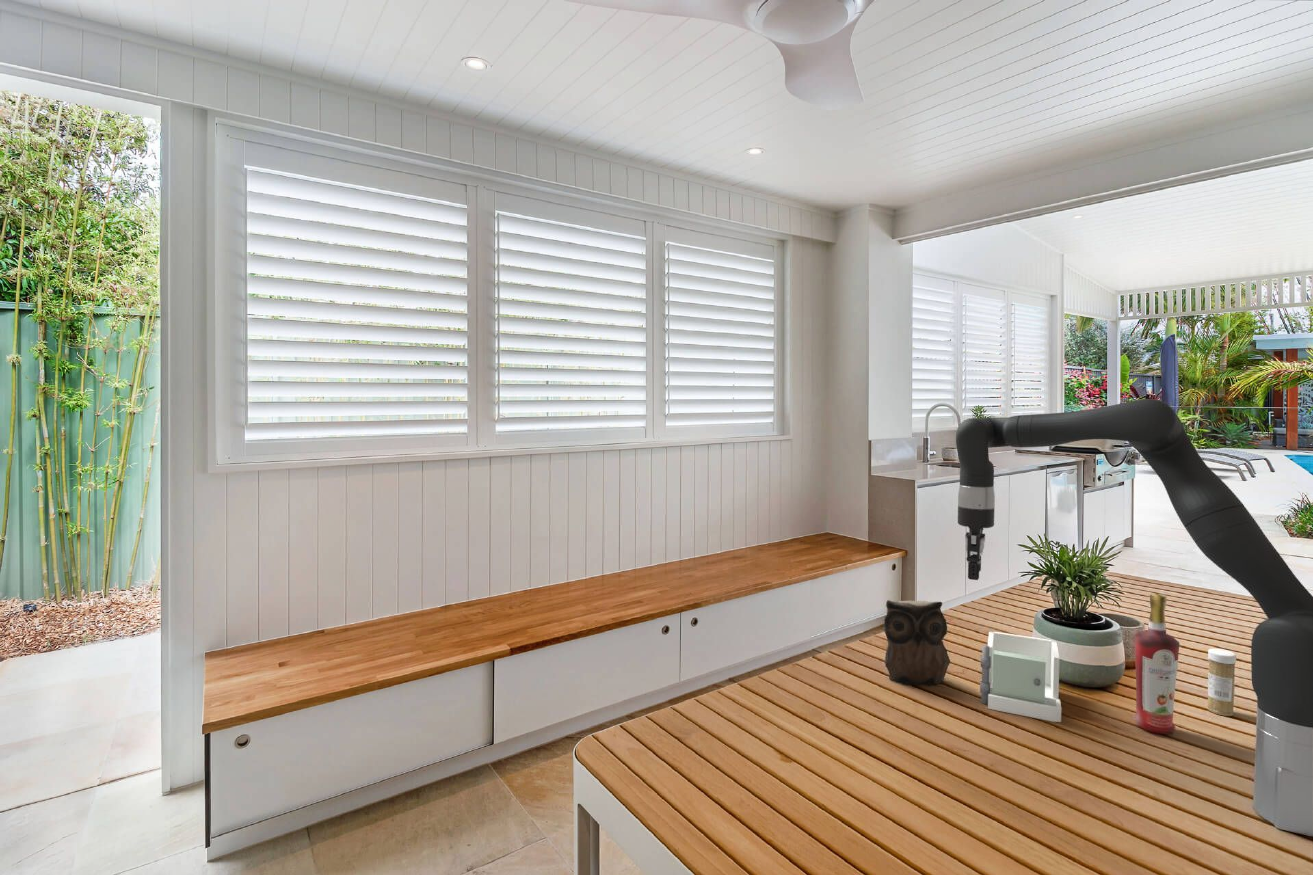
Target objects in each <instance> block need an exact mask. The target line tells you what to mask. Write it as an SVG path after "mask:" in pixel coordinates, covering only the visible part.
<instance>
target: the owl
mask: <svg viewBox="0 0 1313 875" xmlns="http://www.w3.org/2000/svg"><path fill="white" fill-rule="evenodd" d="M885 603H886V604H885V607H886V614H885V616H884V619H883V621H884V622H883V626H884V628H883V632H884V634H885V637H886V640H887V647H886V651H885V656H884V657H885V658H884V664H885V667H886V669H887V671H888V677H889V678H888V679H889V680H890V681H891V682H893V683H898V684H901V685H905V686H911V685H915V686H916V687H919V686H927V687H933V686H936V685H938V684H942V683H945V676H946V674H947V670H948V668H949V665H950V663H951V659H950V657H949V653H948V649H947V648H946V646H945V644H944V641H943V639H944V638H945V636H946V635H947V634H948V624H947V620H946V618H945V615H944V614H943V612H942V609H941V608H942V606H943V602H942V601H928V600H927V601H926V600H910V599H909V600H898V601H897V600H896V601H895V600H894V601H893V600H890V599H888V600H887V601H886V602H885Z"/></svg>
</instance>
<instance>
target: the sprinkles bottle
mask: <svg viewBox="0 0 1313 875" xmlns="http://www.w3.org/2000/svg"><path fill="white" fill-rule="evenodd" d="M1207 654H1208V656H1207V658H1208V673H1207V674H1208V675H1207V676H1208V677H1207V705H1206V709H1207V710H1208V711H1209V712H1211V713H1213V714H1215V715H1218V716H1223V717H1224V716H1225V717H1232V716H1234V714H1235V712H1234V707H1235V706H1234V703H1235V702H1234V701H1235V675H1236V674H1235V667H1236V663H1237V654H1235V652H1233V651H1230V650H1226V649H1223V648H1222V649H1221V648H1209V649H1208V652H1207Z"/></svg>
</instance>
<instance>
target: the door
mask: <svg viewBox="0 0 1313 875" xmlns="http://www.w3.org/2000/svg"><path fill="white" fill-rule="evenodd" d="M1045 669H1046V661H1045V658H1039V657H1033V656H1027V655H1021V654H1014V653H1008V652H1002V651H996V650H994V651H993V691H992V695H996V696H1002V697H1007V698H1012V699H1017V700H1023V701H1028V702H1033V703H1039V704H1044V705H1045Z"/></svg>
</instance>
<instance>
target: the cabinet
mask: <svg viewBox="0 0 1313 875" xmlns="http://www.w3.org/2000/svg"><path fill="white" fill-rule="evenodd" d="M1057 643H1058V642H1057V640H1054V639H1046V638H1041V637H1040V638H1039V637H1033V636H1028V635H1027V636H1026V635H1020V634H1012V633H1007V632H1000V631H999V632H998V631H991V630H989V631H988V640H987V645H986V644H983V645H982V648H981V650H982V652H981V653H982V654H981V655H980V667H981V680H980V683H979V693H980V694H981V699H980V700H981V704H983V705H987V709H989V710H993V711H999V712H1004V713H1008V714H1014V715H1018V716H1022V717H1023V716H1024V717H1028V718H1033V719H1038V720H1043V721H1047V722H1053V723H1057V722H1058V723H1062V705H1061V704H1062V703H1061V699H1059V688H1060V687H1059V685H1060V684H1059V682H1060V654H1059V648H1058V644H1057ZM994 650H996V651H1002V652H1008V653H1014V654H1021V655H1027V656H1033V657H1039V658H1045V661H1046V669H1045V705H1044V704H1039V703H1033V702H1028V701H1023V700H1017V699H1012V698H1007V697H1002V696H996V695H992V691H993V651H994Z"/></svg>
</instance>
